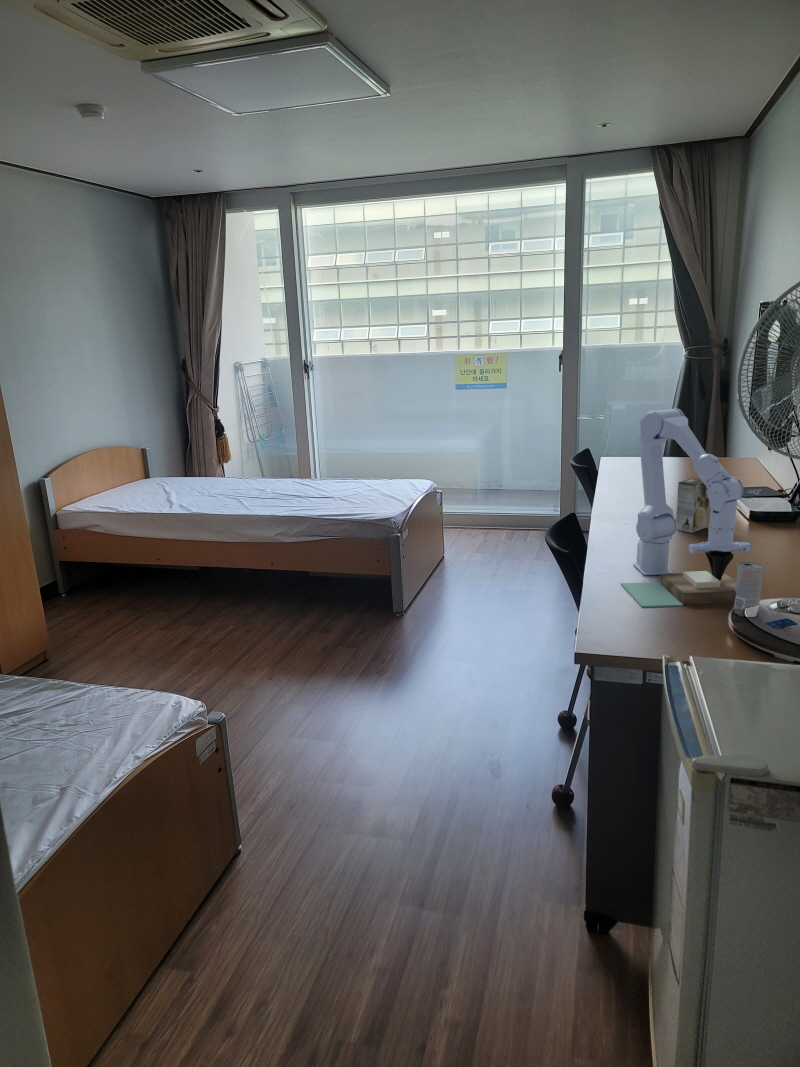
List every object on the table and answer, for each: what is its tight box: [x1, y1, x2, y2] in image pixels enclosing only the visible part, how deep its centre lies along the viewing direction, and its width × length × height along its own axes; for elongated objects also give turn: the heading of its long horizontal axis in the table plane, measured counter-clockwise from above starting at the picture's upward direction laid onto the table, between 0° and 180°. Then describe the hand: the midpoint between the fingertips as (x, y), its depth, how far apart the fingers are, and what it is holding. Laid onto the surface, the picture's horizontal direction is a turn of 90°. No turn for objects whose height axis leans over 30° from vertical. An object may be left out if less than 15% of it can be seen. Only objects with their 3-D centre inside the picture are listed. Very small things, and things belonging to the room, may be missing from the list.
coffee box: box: [675, 477, 710, 534], centre depth 237 cm, size 9×6×16 cm
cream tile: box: [682, 570, 721, 588], centre depth 181 cm, size 8×6×2 cm
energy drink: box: [732, 561, 764, 610], centre depth 168 cm, size 5×5×12 cm
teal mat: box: [620, 581, 684, 608], centre depth 182 cm, size 16×10×1 cm, turn 1°
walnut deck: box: [660, 571, 736, 605], centre depth 182 cm, size 14×16×3 cm
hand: (716, 579), depth 182 cm, fingers closed
